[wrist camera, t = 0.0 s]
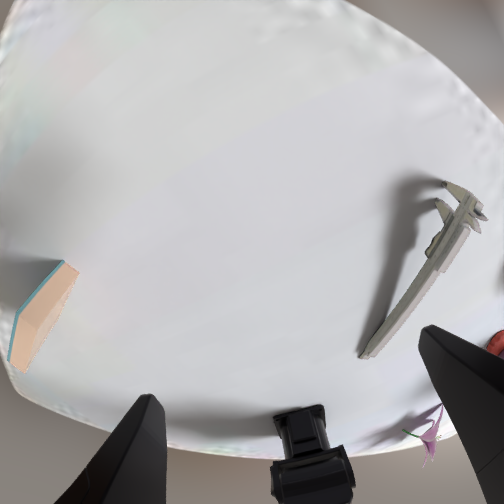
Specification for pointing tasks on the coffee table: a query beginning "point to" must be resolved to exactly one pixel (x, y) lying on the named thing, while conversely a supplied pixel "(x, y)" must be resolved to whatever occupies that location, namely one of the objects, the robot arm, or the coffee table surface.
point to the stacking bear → (497, 345)
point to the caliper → (432, 261)
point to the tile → (40, 315)
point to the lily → (430, 438)
